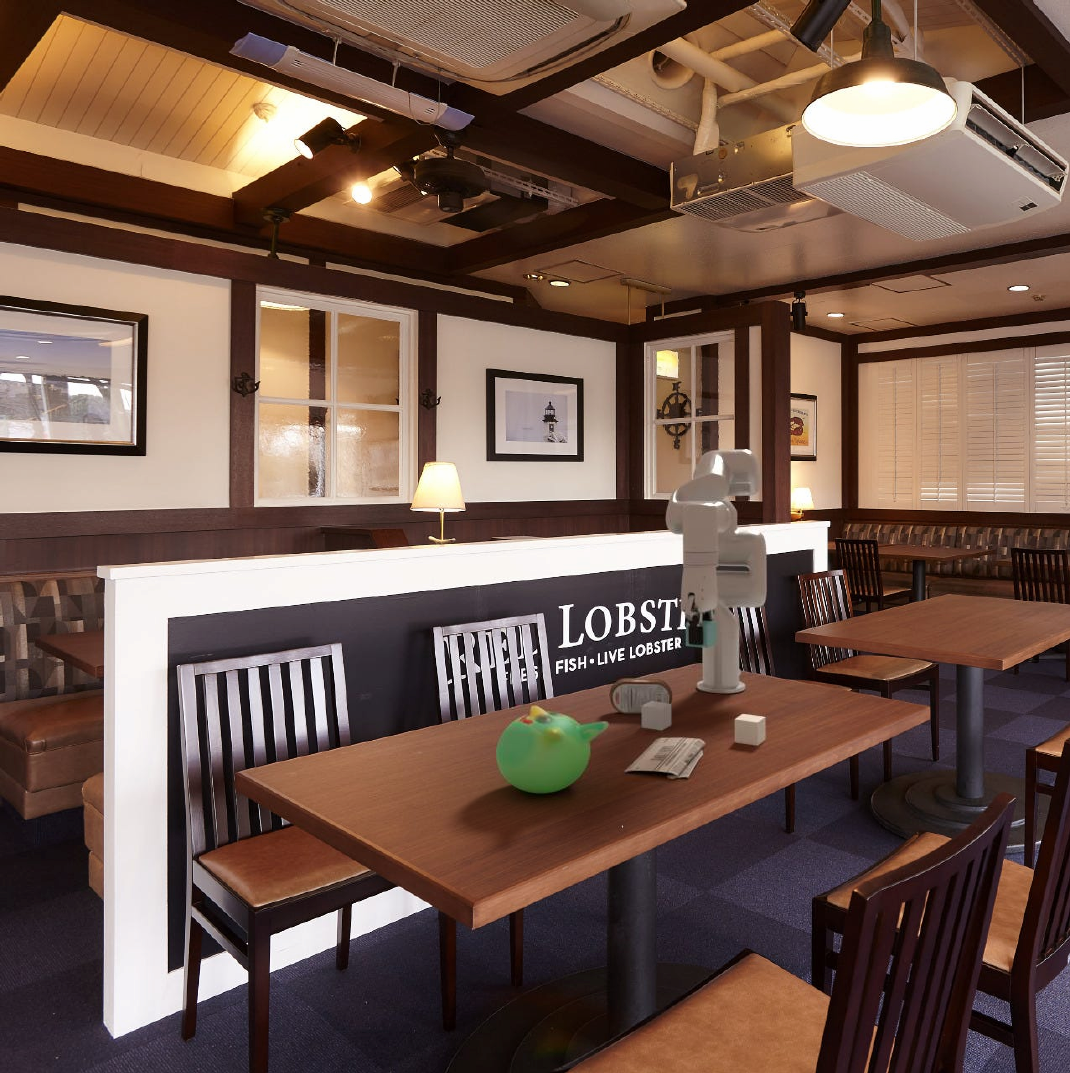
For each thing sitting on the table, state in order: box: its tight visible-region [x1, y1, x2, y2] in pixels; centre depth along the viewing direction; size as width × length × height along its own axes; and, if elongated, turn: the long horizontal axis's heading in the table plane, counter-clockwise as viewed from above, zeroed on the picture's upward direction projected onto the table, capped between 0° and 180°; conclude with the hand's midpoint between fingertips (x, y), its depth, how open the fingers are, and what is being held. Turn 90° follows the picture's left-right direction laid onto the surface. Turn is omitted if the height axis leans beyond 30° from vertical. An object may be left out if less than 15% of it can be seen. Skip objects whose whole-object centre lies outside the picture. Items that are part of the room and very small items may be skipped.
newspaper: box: [623, 737, 706, 780], centre depth 170 cm, size 23×12×2 cm, turn 155°
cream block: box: [734, 713, 767, 747], centre depth 181 cm, size 5×5×5 cm
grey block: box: [641, 701, 672, 731], centre depth 193 cm, size 5×5×5 cm
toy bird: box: [495, 705, 610, 794], centre depth 154 cm, size 18×17×15 cm
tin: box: [609, 677, 673, 715], centre depth 204 cm, size 15×3×8 cm, turn 84°
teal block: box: [685, 621, 716, 649], centre depth 186 cm, size 5×5×5 cm
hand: (701, 641), depth 186 cm, fingers closed on teal block, 4 cm apart
